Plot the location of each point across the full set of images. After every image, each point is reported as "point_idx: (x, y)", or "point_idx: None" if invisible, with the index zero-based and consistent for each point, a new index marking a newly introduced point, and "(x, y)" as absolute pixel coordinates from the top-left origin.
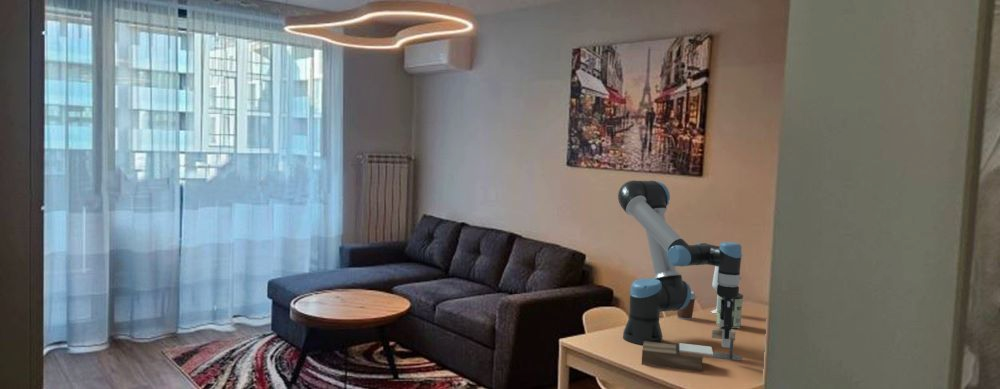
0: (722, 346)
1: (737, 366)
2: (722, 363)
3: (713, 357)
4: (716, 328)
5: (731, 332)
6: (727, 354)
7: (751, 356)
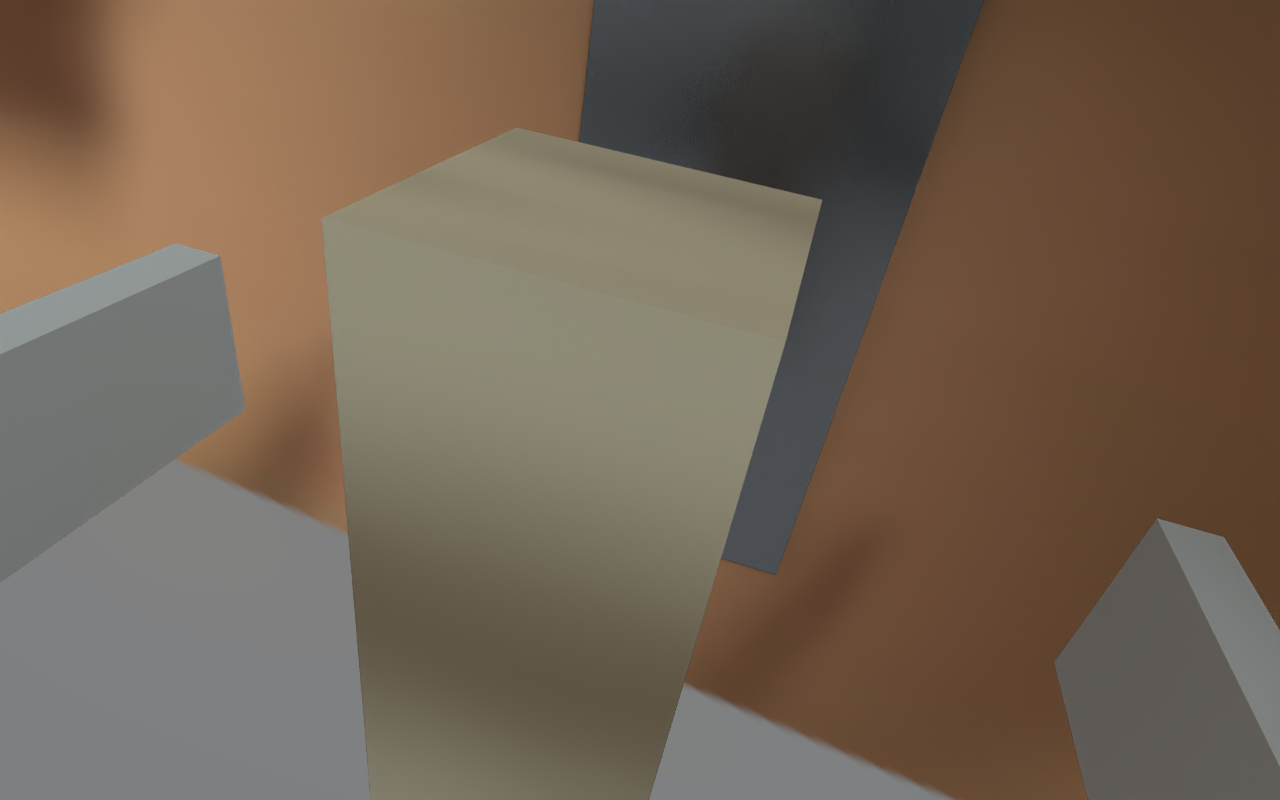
0: (166, 262)
1: (286, 348)
2: (318, 167)
3: (586, 91)
4: (702, 531)
5: (373, 771)
6: (798, 415)
7: (799, 695)
